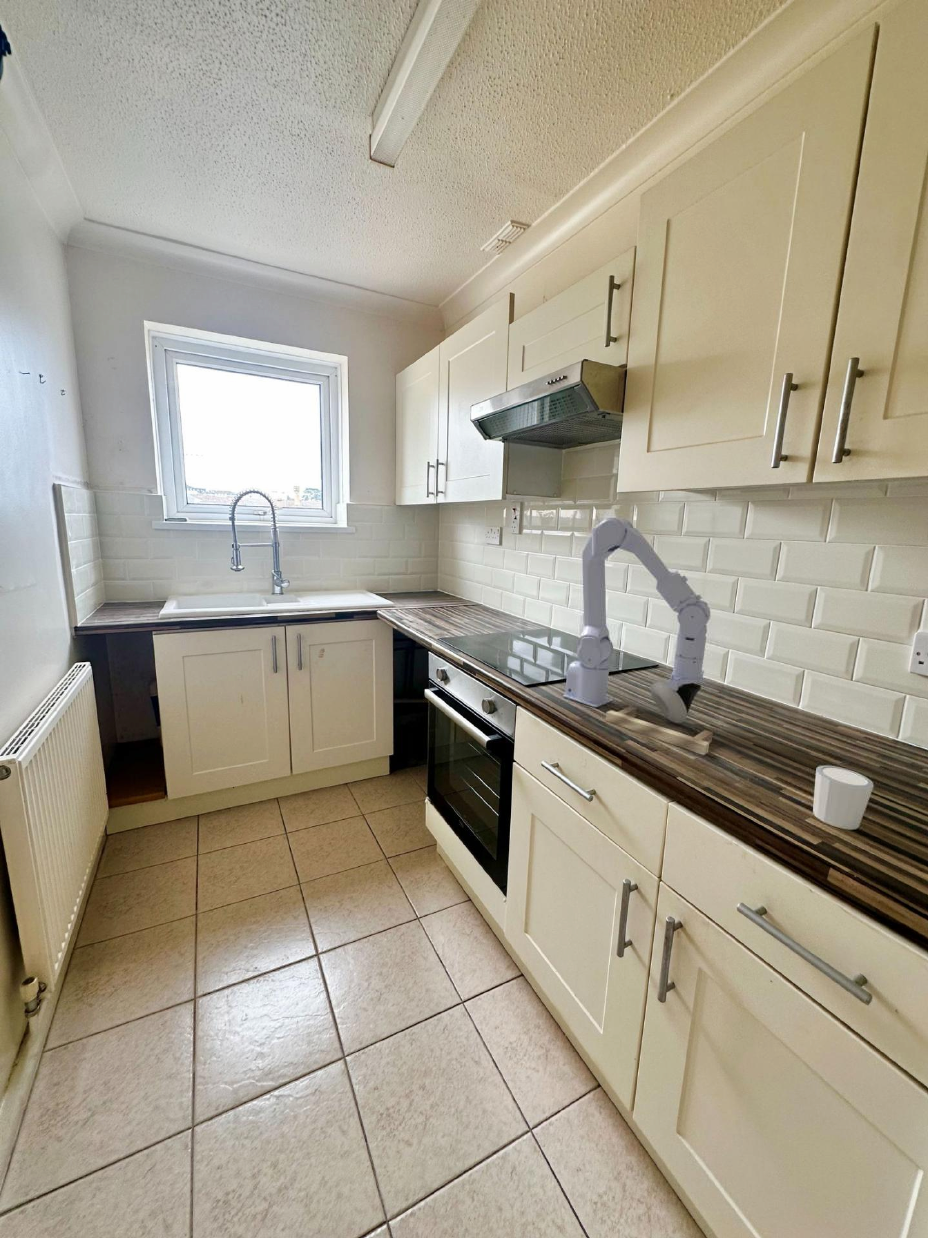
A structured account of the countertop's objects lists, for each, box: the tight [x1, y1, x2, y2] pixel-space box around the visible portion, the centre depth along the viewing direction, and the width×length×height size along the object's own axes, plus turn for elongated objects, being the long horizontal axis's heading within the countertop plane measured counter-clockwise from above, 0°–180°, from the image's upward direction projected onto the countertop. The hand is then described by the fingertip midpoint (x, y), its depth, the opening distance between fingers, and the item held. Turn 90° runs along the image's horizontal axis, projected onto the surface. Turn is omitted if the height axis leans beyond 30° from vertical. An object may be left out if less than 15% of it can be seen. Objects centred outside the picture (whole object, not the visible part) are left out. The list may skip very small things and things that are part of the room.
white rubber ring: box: [650, 680, 688, 724], centre depth 107 cm, size 10×3×10 cm
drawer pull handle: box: [605, 706, 714, 756], centre depth 103 cm, size 21×8×2 cm, turn 44°
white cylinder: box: [812, 765, 875, 831], centre depth 74 cm, size 7×7×7 cm
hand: (681, 714), depth 110 cm, fingers closed
